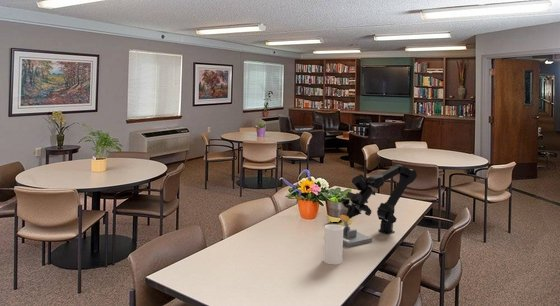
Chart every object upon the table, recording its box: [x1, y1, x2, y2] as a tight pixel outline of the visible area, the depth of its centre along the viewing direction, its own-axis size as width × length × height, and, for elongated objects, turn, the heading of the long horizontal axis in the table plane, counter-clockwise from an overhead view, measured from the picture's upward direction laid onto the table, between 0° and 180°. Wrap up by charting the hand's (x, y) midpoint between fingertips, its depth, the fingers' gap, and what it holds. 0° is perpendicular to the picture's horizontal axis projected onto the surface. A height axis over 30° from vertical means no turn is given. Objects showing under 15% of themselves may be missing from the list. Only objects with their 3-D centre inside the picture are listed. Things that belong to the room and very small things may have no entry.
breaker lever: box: [339, 214, 350, 232], centre depth 222 cm, size 2×5×11 cm, turn 30°
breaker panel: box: [343, 226, 373, 248], centre depth 223 cm, size 16×18×6 cm
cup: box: [323, 223, 344, 266], centre depth 193 cm, size 8×8×16 cm
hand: (346, 219), depth 221 cm, fingers closed, pressing on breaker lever
